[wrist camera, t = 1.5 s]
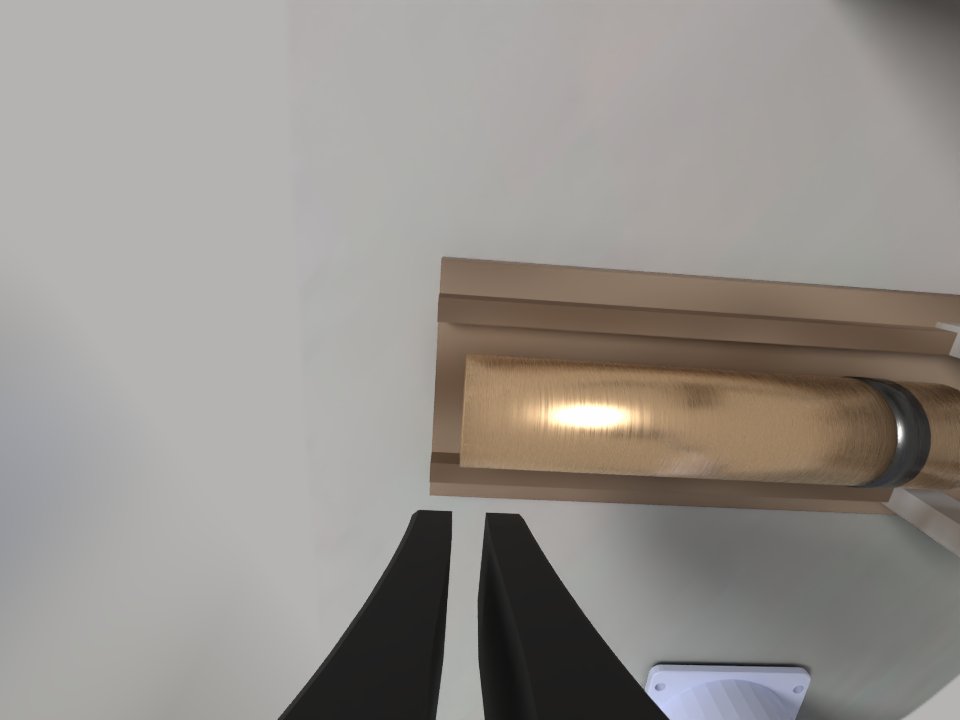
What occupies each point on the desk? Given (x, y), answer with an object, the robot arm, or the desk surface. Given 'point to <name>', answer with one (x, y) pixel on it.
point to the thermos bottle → (708, 424)
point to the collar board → (689, 344)
